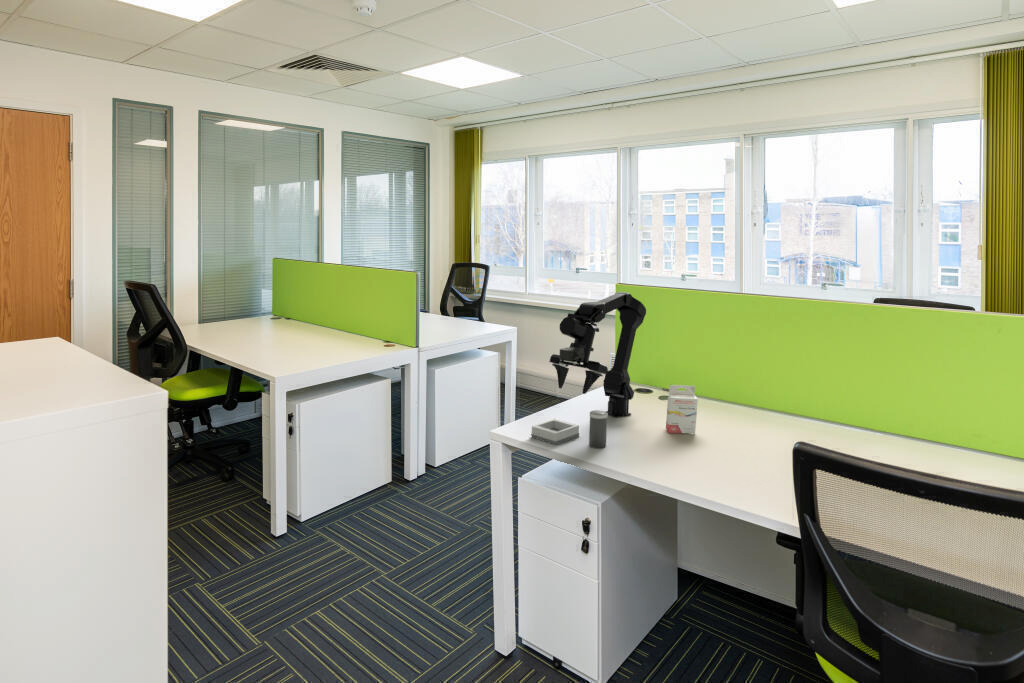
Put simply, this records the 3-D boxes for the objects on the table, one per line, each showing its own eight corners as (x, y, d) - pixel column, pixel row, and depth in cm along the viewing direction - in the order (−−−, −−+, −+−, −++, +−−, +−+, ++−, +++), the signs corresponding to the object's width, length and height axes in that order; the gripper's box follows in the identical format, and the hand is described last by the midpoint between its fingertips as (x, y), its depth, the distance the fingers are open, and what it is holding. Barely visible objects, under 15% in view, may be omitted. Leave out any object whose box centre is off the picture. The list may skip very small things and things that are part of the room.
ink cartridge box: (667, 433, 193) (670, 388, 191) (665, 428, 198) (668, 384, 195) (695, 434, 192) (698, 389, 190) (692, 429, 197) (695, 385, 195)
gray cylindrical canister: (599, 441, 185) (600, 409, 183) (609, 446, 181) (611, 414, 179) (585, 444, 183) (586, 411, 181) (595, 449, 178) (596, 416, 176)
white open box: (554, 429, 196) (554, 418, 196) (579, 436, 190) (579, 425, 189) (531, 437, 189) (531, 426, 188) (556, 444, 182) (556, 433, 181)
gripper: (545, 332, 193) (533, 381, 191) (594, 340, 180) (581, 392, 179) (565, 340, 201) (554, 387, 200) (613, 348, 188) (602, 398, 187)
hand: (571, 390), depth 191 cm, fingers open, 9 cm apart
